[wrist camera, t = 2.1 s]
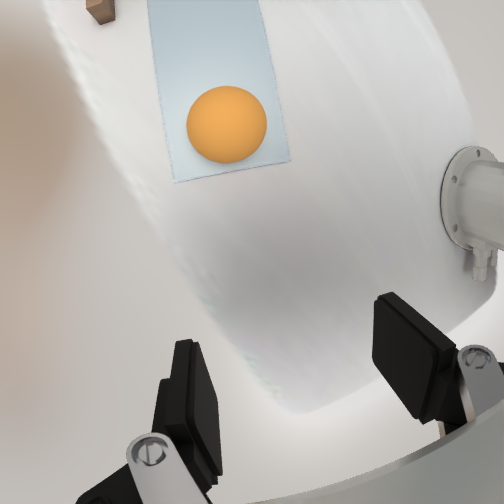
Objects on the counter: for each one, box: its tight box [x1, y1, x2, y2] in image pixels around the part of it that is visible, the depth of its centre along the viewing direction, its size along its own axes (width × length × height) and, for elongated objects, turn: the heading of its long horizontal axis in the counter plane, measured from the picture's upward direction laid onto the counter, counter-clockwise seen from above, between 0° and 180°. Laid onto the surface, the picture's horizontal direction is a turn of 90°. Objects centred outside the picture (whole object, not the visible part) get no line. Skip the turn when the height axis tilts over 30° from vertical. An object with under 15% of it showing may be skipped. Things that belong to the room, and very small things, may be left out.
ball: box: [186, 86, 267, 163], centre depth 21 cm, size 6×6×6 cm
